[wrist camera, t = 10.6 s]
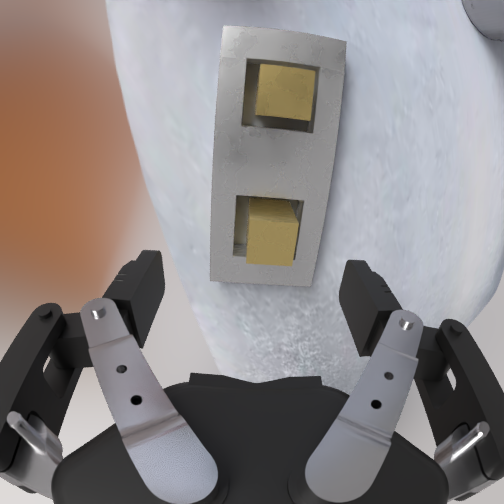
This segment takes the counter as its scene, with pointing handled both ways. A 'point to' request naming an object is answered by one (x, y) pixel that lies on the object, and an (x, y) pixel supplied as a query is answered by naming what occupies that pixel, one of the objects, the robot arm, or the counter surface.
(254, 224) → the brass block
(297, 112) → the seated brass block
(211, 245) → the white socket board
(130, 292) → the robot arm
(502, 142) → the counter surface
